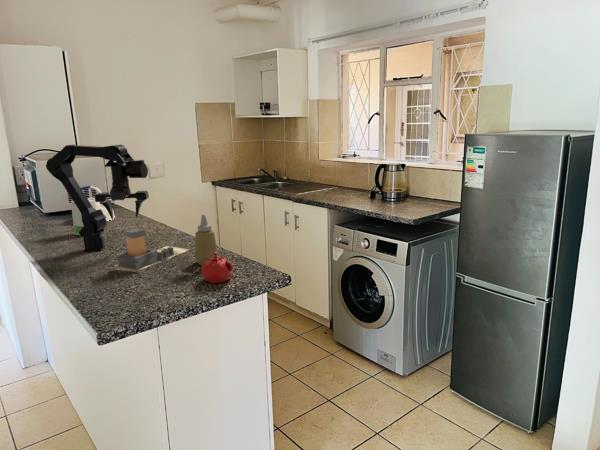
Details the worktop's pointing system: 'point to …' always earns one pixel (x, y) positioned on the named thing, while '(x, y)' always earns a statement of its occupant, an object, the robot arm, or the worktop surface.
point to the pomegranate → (217, 269)
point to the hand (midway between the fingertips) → (124, 218)
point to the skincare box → (78, 216)
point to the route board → (146, 258)
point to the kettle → (97, 204)
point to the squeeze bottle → (204, 242)
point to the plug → (136, 242)
